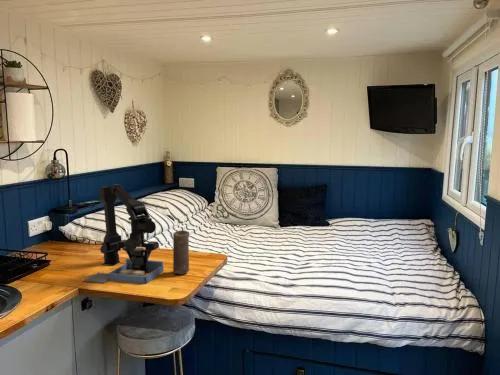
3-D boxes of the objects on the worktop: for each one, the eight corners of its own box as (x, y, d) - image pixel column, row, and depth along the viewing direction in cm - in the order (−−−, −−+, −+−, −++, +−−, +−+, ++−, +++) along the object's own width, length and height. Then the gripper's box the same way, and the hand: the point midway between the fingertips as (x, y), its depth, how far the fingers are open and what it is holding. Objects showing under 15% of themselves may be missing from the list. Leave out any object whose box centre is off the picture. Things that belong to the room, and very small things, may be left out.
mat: (84, 281, 170) (84, 280, 170) (98, 273, 180) (98, 272, 180) (103, 283, 168) (103, 282, 168) (117, 275, 177) (116, 274, 177)
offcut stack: (116, 279, 173) (115, 271, 172) (120, 277, 176) (119, 269, 175) (142, 282, 170) (142, 273, 169) (145, 279, 173) (145, 271, 172)
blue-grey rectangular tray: (107, 280, 171) (107, 269, 171) (127, 268, 187) (127, 258, 187) (146, 283, 167) (145, 272, 166) (163, 271, 183) (163, 261, 182)
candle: (192, 271, 182) (191, 230, 180) (184, 276, 176) (183, 234, 173) (178, 269, 185) (177, 229, 182) (170, 274, 178) (169, 233, 176)
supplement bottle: (133, 277, 175) (132, 252, 173) (130, 272, 181) (129, 248, 179) (148, 274, 178) (147, 250, 177) (145, 270, 184) (144, 246, 183)
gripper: (109, 233, 171) (111, 266, 173) (147, 235, 167) (148, 269, 169) (123, 227, 182) (125, 259, 184) (159, 229, 178) (160, 262, 180)
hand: (139, 262), depth 179 cm, fingers closed on supplement bottle, 7 cm apart
